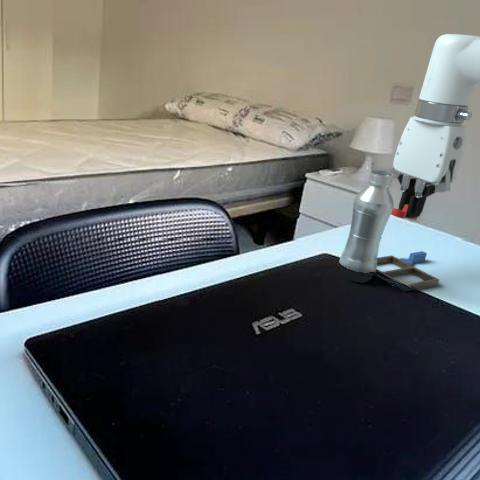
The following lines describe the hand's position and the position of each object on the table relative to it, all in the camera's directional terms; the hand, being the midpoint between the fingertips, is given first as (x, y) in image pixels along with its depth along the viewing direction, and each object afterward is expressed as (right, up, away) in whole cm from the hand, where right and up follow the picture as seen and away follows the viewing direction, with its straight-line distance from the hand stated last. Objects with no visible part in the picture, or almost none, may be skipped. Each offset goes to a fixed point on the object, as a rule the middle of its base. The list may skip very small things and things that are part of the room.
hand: (408, 214), depth 92 cm
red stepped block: (-1, 0, 0) cm, 1 cm away
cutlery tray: (-2, -12, +1) cm, 12 cm away
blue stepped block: (+4, -10, +8) cm, 13 cm away
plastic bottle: (-10, -12, -1) cm, 16 cm away
